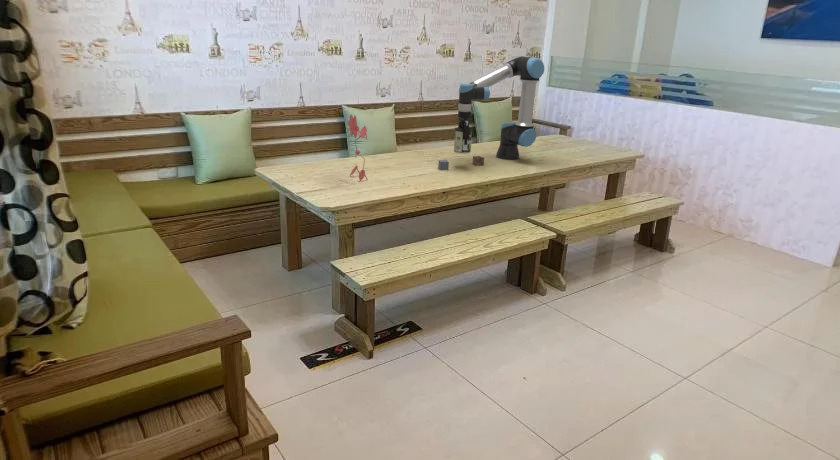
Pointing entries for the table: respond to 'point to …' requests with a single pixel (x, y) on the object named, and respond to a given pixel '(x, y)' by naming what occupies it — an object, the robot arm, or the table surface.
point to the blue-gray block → (443, 165)
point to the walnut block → (478, 160)
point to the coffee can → (461, 141)
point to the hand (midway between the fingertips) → (462, 148)
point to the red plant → (353, 131)
